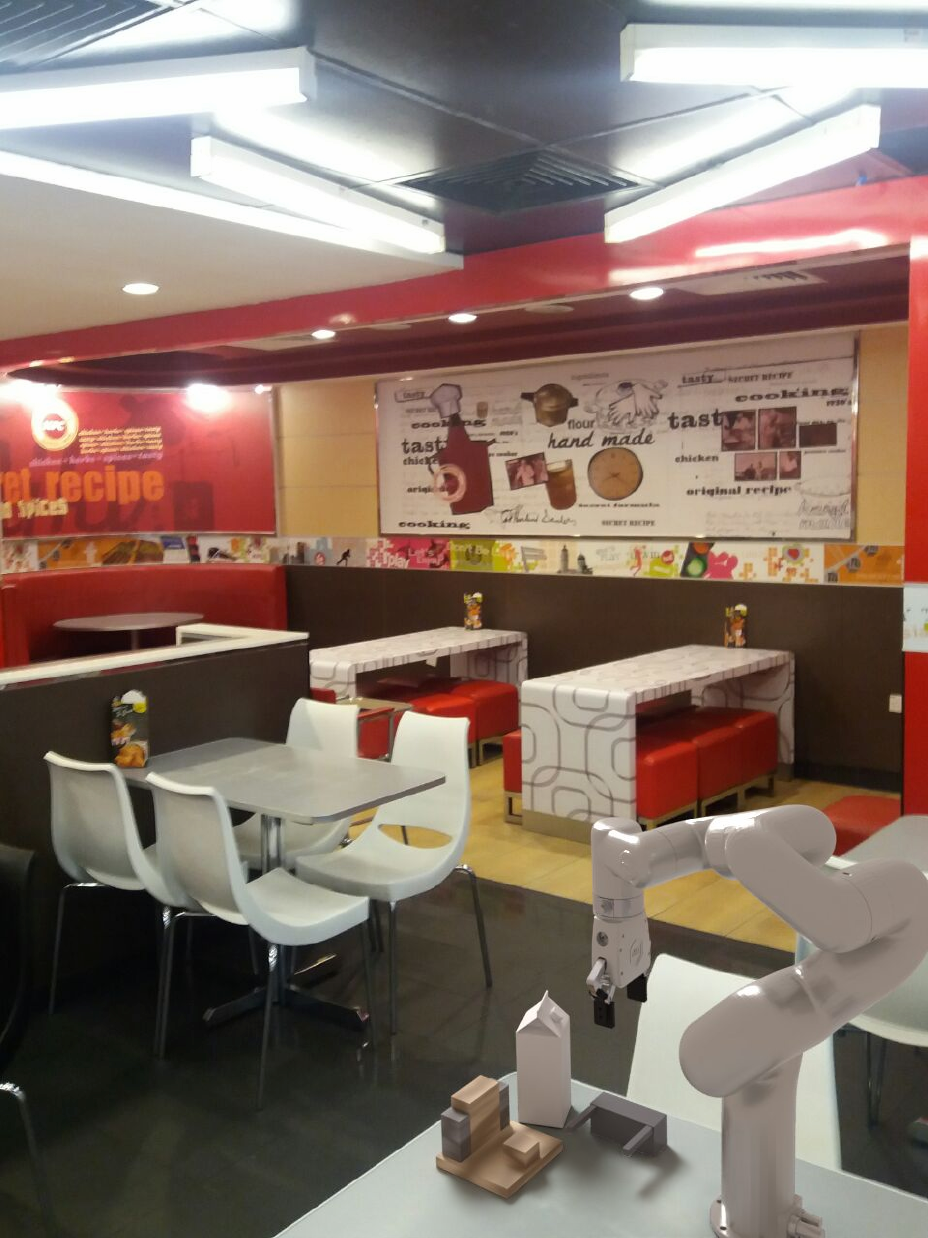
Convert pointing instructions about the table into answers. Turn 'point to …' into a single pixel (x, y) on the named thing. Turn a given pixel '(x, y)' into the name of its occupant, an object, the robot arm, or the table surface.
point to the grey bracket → (624, 1124)
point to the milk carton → (544, 1065)
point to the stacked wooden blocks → (491, 1140)
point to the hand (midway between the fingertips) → (621, 1012)
